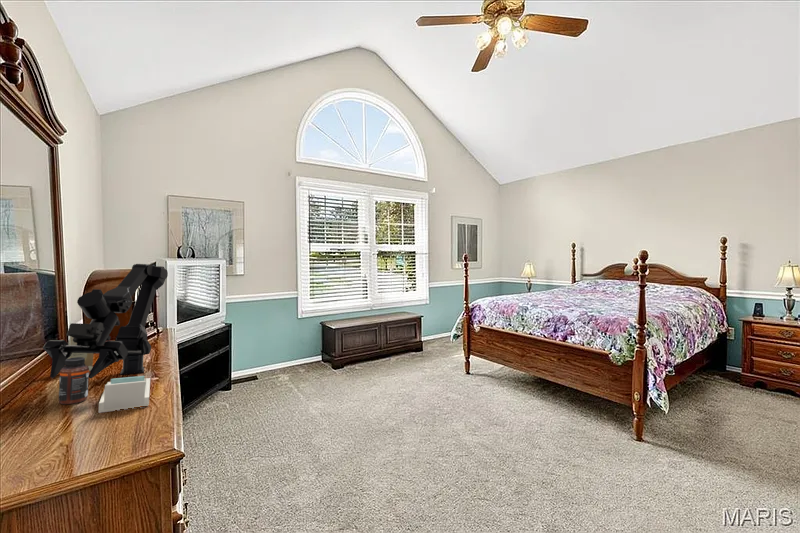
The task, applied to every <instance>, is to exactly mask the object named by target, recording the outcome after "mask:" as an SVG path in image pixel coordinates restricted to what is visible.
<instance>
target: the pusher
mask: <svg viewBox="0 0 800 533" xmlns="http://www.w3.org/2000/svg"><path fill="white" fill-rule="evenodd" d="M144 379H145V375H137V376H127V377H117V378H116V377H115V378H110V382H111V384H116V383H126V382H136V381H144Z"/></svg>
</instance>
